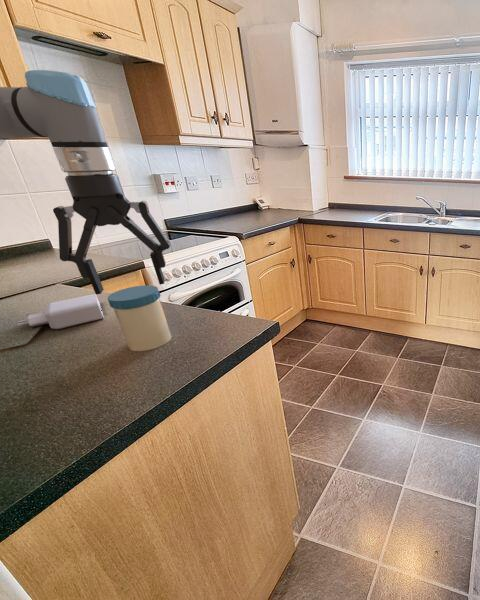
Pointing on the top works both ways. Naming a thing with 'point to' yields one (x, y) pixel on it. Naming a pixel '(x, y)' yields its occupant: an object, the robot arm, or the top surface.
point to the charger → (67, 313)
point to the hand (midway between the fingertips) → (132, 287)
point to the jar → (144, 326)
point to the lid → (133, 297)
